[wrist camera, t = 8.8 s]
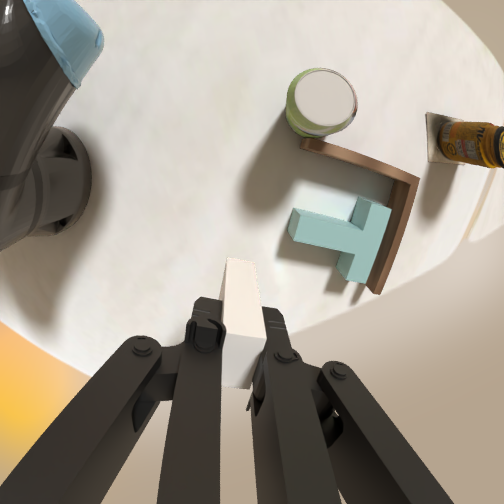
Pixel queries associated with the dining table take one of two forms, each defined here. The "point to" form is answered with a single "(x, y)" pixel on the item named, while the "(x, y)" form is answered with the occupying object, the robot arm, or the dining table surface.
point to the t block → (345, 236)
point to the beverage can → (320, 103)
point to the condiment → (464, 142)
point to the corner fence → (398, 203)
